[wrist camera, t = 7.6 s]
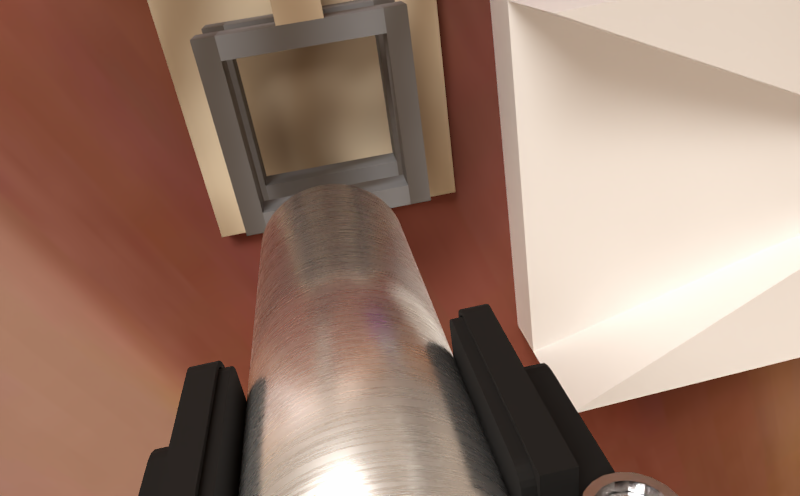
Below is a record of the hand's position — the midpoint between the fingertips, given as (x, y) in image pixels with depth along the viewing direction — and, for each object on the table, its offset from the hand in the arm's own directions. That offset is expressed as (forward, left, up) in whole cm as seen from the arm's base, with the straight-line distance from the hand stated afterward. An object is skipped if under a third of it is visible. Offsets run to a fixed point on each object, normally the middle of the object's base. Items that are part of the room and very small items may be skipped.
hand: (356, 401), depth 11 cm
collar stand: (0, 0, -25) cm, 25 cm away
